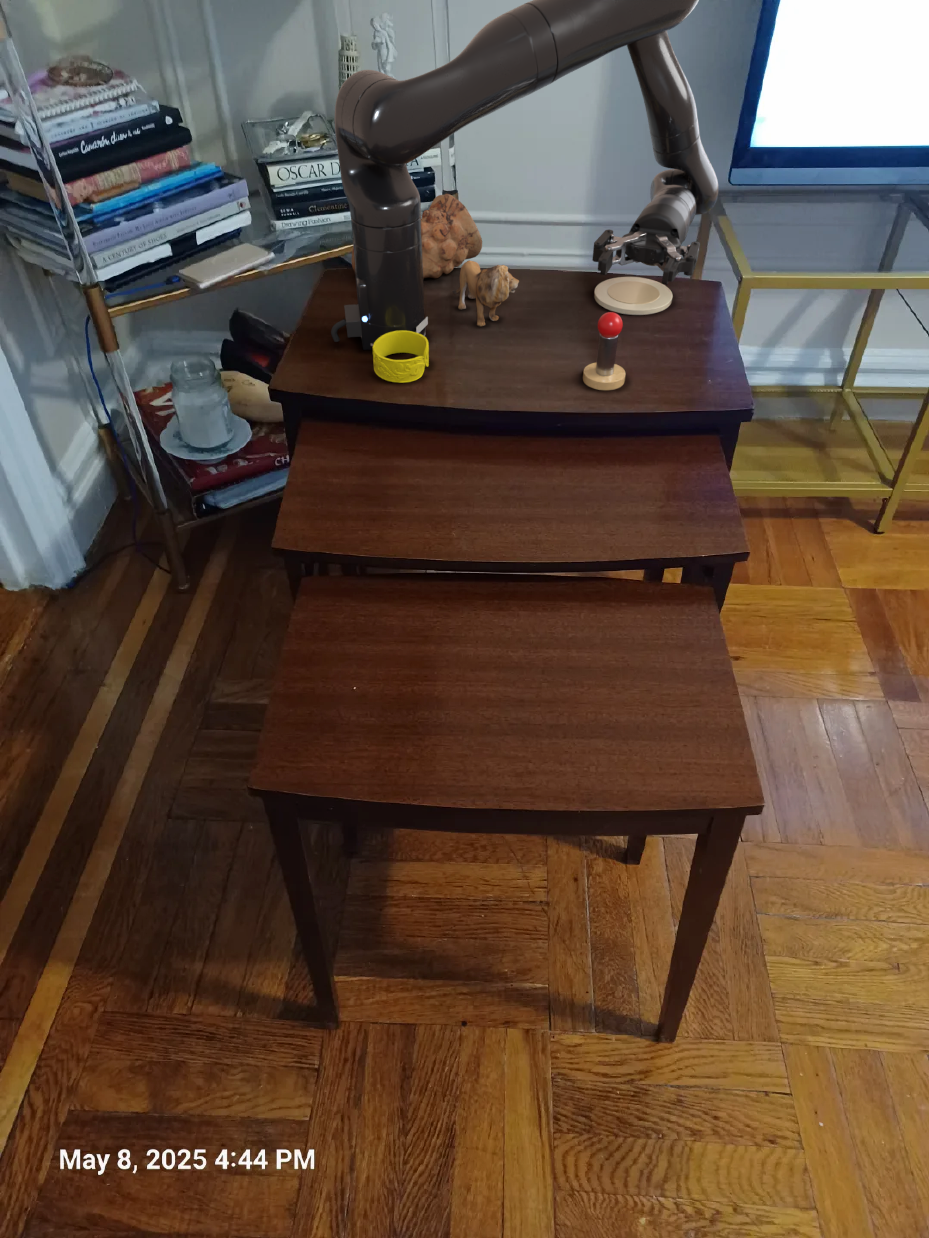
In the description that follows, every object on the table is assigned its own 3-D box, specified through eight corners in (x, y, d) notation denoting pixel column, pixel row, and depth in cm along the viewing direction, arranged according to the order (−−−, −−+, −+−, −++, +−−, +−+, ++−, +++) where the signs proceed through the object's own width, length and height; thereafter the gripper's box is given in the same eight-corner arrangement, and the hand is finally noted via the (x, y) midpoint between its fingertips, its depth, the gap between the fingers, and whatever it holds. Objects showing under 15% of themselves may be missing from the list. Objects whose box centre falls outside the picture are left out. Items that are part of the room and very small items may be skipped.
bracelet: (365, 377, 119) (364, 355, 117) (386, 347, 125) (385, 326, 122) (416, 387, 118) (416, 365, 116) (435, 356, 123) (435, 335, 121)
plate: (605, 317, 132) (605, 312, 132) (585, 284, 141) (586, 278, 140) (682, 312, 134) (683, 306, 133) (658, 279, 142) (659, 273, 142)
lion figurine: (521, 327, 130) (524, 266, 124) (491, 336, 128) (493, 275, 122) (466, 291, 139) (466, 233, 133) (437, 299, 137) (436, 241, 131)
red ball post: (588, 392, 117) (595, 324, 110) (578, 371, 121) (584, 305, 114) (629, 389, 117) (639, 321, 111) (618, 368, 121) (626, 302, 115)
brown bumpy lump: (463, 318, 144) (494, 239, 146) (456, 280, 133) (489, 196, 136) (357, 289, 147) (389, 212, 149) (342, 250, 136) (377, 168, 139)
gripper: (616, 196, 129) (585, 237, 119) (714, 209, 126) (691, 252, 115) (610, 248, 135) (580, 291, 124) (704, 261, 131) (681, 307, 120)
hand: (634, 272), depth 119 cm, fingers open, 8 cm apart
